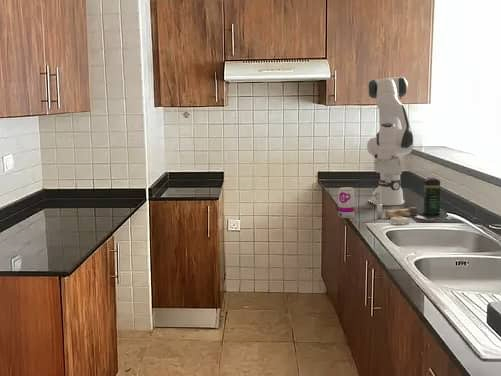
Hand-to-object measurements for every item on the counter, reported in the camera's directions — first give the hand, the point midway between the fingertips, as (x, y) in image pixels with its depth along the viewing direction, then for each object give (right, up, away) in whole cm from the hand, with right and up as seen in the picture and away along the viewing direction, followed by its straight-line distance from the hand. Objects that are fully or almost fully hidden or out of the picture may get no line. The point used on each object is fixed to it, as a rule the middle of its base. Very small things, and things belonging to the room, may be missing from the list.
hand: (388, 182), depth 295 cm
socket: (+1, -20, -19) cm, 28 cm away
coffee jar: (+23, -16, +3) cm, 29 cm away
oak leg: (+6, -17, -3) cm, 18 cm away
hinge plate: (+14, -18, -6) cm, 23 cm away
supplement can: (-21, -18, +2) cm, 27 cm away
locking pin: (-5, -18, -5) cm, 19 cm away
